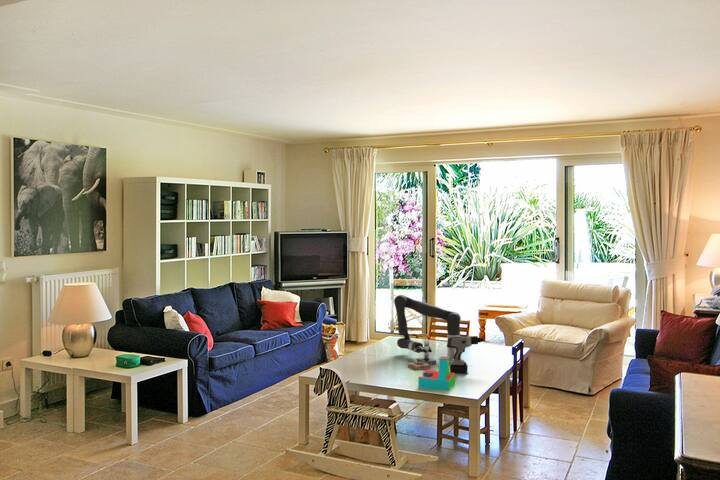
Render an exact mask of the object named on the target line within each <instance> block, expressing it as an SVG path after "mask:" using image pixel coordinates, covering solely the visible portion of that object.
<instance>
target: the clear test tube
mask: <svg viewBox="0 0 720 480" xmlns="http://www.w3.org/2000/svg"><path fill="white" fill-rule="evenodd" d="M423 342H424V344H423V346H424V349H426V350H427V353H424V352H423V353H424V354H423V355H424V357H423V358H424V360H429V358H430V352H429V346H430V340H425V339H424V341H423Z"/></svg>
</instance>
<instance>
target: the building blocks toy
mask: <svg viewBox="0 0 720 480" xmlns="http://www.w3.org/2000/svg"><path fill="white" fill-rule="evenodd" d="M449 360H450V358H449V357H447V356H440V357H439V362H438V365H439V366H438V371H437V370H428V369H424V371H423V372H422V376H418V384H417V385H418V386H417V387H418V389H426V388H427V389H428V390H437V391H450V390H451V389H452V387H454V384H455V382H456V381H455V379H456V373H451V372H450V362H449Z"/></svg>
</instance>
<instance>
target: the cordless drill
mask: <svg viewBox="0 0 720 480" xmlns="http://www.w3.org/2000/svg"><path fill="white" fill-rule="evenodd" d="M484 340H485V339H484V338H482V337H478V335H474V336H473V335H469V336H468V335H464V336H461V335H460V337H451V338H448V342H447V343H446V349H447V348H455V349H456V353H455V355H454V358H453V359H452V360H451V362H450V364H449V371H450V372H451V373H455V374H460V375H462V374H463V375H466V374H468V368H469V367H468V364H467V362H466V361H465V360H464V359H461V357H462V354H463V353H465V352H466V349H467V348H469V347H471V346H472V345H478V344H479V343H482V342H485V341H484ZM460 356H461V357H460Z"/></svg>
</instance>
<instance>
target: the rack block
mask: <svg viewBox="0 0 720 480" xmlns="http://www.w3.org/2000/svg"><path fill="white" fill-rule="evenodd" d="M431 365H432V364H428V363H425V362H417V361H416V362H408V363H407V367H408V368H409V369H412V370H413V371H414V370H415V371H419V370H428V369H431Z"/></svg>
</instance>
